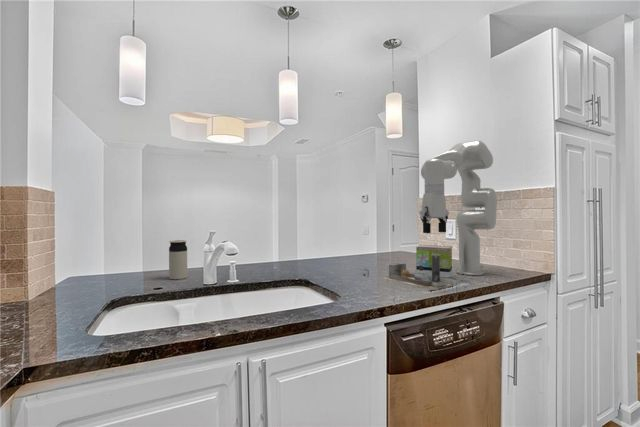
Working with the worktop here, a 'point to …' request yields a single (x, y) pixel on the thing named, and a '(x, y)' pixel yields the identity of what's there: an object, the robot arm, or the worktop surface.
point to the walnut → (405, 273)
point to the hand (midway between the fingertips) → (434, 232)
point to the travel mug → (178, 259)
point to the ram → (433, 274)
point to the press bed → (396, 276)
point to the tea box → (425, 259)
